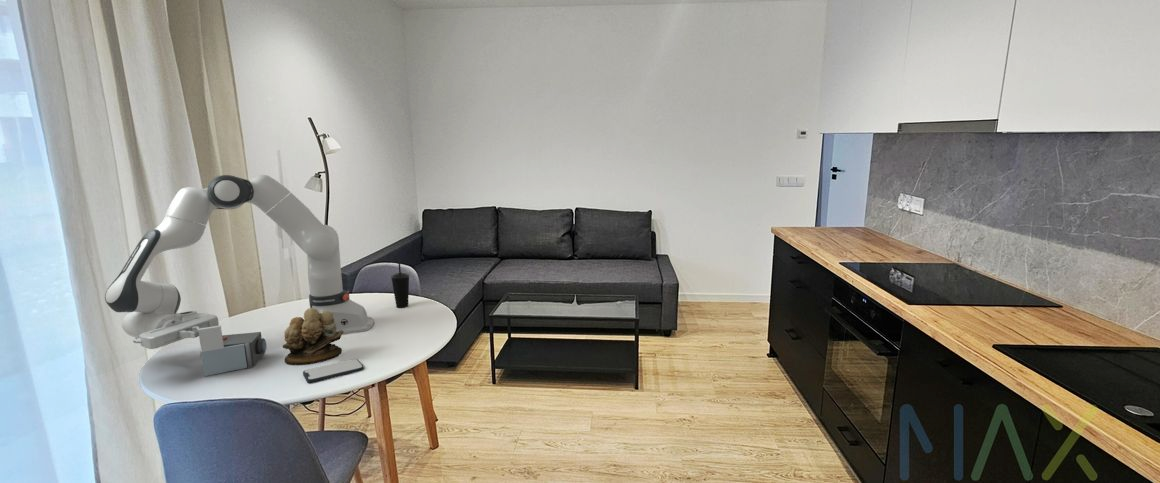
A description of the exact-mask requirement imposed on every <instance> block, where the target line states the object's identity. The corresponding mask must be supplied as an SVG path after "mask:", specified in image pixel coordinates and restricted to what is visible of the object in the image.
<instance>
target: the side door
mask: <svg viewBox="0 0 1160 483" xmlns="http://www.w3.org/2000/svg"><path fill="white" fill-rule="evenodd" d="M198 333H199V336H198V338H199V345H200V350H201V351H200V352H199V353H200V358H201V359H200V360H201V364H202V372H203V376H204V377H205V376H212V375H216V374H222V373H226V372H231V371H237V370H243V369H247V368H248V369H253V368H254V366H252V359H251V352H250V344H249V343H245V347H244V344H240V345H234V346H228V347H224V344H223V337H222V335H223V331H222V325H221V324H219V326H213V327H207V328H200V329H198ZM245 349H246V354H245ZM246 356H247V361H246ZM247 364H248V367H247Z"/></svg>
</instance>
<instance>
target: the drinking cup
mask: <svg viewBox="0 0 1160 483" xmlns="http://www.w3.org/2000/svg"><path fill="white" fill-rule="evenodd" d="M397 265H398V272H396V273H393V274H392V275H390V278H391V283H392V289H393V295H394V301H395V305H396V308H398V309H403V308H404V309H405V308H407V307H409V292H410V291H409V290H410V277H411V276H410V274H409V273H407V272H404V271H403V272H402V271H401V261H400V260H398V264H397Z"/></svg>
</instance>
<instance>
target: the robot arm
mask: <svg viewBox="0 0 1160 483" xmlns="http://www.w3.org/2000/svg"><path fill="white" fill-rule="evenodd" d="M247 203H249V204H252V205H254V206H256V207H257V208H258V209H259V210H260V211H262V212H263V213H264V214H265V215H266V216H268V218H269V219H271V220H272V221H273V222H275V224H276V225H278V227H279V228H281V229H282V230H283V231H284V232H285V233H286V234H287V236H289V237H290V239H291V240H292V241H293V242H294V243H295V245H297V246H298V247H299V248H300V249H301V251H303V252H304V253H305V254H306V255H307V256H306V258H307V259H306V260H307V275H308V287H309V296H308V302H309V303H308V304H309V308H314V309H316V310H318V312H319V314H320V313H322V312H324V311H329V312H332V314H333V318H334V321H335V324H336V331H337V332H338V331H340V330H342V331H343V334H342V335H345V334H352V333H357V332H360V333H361V332H364V331H365V332H366V331H368V330H369V329H371V328H372V327H373V326H374V325H375V321H374V318H373V317H371V316H368V313H367V310H366V308H365V307H364V306H363V305H361V304H359V303H357V302H356V301H354V300H352V299H350V290H345V289H343V278H342V266H341V253H340V252H341V251H340V240H339V234H338V232H337V231H336V229H335V228H334V227H332V226H330V225H328V224H323V223H322V222H321V221H320V220H319V219H318V218H317V217H316V215H315V214H314V213H313V212H312V211H311V210H310V209H309V208H308V206H306V205H305V204H304V203H303V202H302V201H301V200H300V199H299V198H298V197H296V195H294V194H293V192H291V191H290V190H289V189H288V188H287V187H285V185H283V184H281V183H280V182H279V181H277V180H276V179H275V178H272V177H271V176H269V175H267V174H260V175H257V176H254V177H253V178H251V179H250V180H248V179H245V178H241V177H238V176H235V175H230V174H223V175H219V176H215V177H214V178H213V179H211V181H210V182H209V183H208V186H207V187H206V188H199V187H195V186H187V187H182V188H180V189H179V190H178V191H177V193H176V194H175V196H174V197H173V198H172V200H171V202H170V204H169V206H168V208H167V210H166V213H165V216H164V218H163V220H162V221H161V222H160V224H158V226H156V227H155V228H154V229H151V230H149V231H146V232H145V234H144V235H143V236H142V237H141V239H140V240H139V241H138V243H137V245H136V246H135V248H134V249H133V251H132V253H131V255H130V256H129V258H128V260H127V261H126V262H125V264H124V266H123V267H122V269H121V270H120V273H119V274H118V275H117V277H116V278H115V279H114V280H113V281H112V283H110V285H108V288H107V290H106V291H105V294H104V300H105V303H106V305H107V306H108V307H109V308H110V309H111V310H113V311H114V312H115V313H127V314H126V315H125V316H123V319H122V321H121V327H122V330H123V331H124V332H125V333H126V334H127V335H128V336H130V337H133V338H135V339H132V342H133V343H134V344H140V346H141V347H143V348H146V349H148V350H154V349H159V348H161V347H164V346H167V345H170V344H174V343H176V342H178V341H182V340H185V339H189V338H190V339H195V338H199V333H198V329H200V328H207V327H213V326H220V323H219V318H218V316H217V315H214V314H210V313H205V312H199V313H198V311H196V310H189V311H183V312H179V313H178V311H179V309H180V305H181V301H182V298H181V294H180V291H179V290H178V288H177V287H176V286H175V285H173V284H169V283H163V282H151V281H145V280H143V281H142V279H143V276H144V275H145V273H147V272H146V271H147V269H148V268H149V267H150V265H151V263H152V262H153V260H154V258H156V256H158V255H159V254H160V253H162V252H166V251H170V250H175V249H176V250H177V249H182V248H183V249H184V248H187V247H190V246H192V245H195V244H196V243H197V242H199V241H200V240H201V238H202V236H203V235H204V233H205V230H206V227H207V224H208V221H209V219H210V216H211V214H212V213H213V212H214V211H215V210H236V209H239V208H241V207H242V206H243V205H244V204H247Z"/></svg>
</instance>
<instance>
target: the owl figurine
mask: <svg viewBox="0 0 1160 483" xmlns="http://www.w3.org/2000/svg"><path fill="white" fill-rule="evenodd" d="M342 335H344V334H343V331H342V330H340V331H338V332H337V331H336V324H335V321H334V318H333V314H332V312H329V311H324V312H322V313H320V314H319V312H318V310H316V309H314V308H310V307H309V308H306V310H305V311H304V313H303V317H301V316H296V317H293V318H291V319H290V322H289V326H288V327H286V330H284V341H285V343H284V344H282V348H283V349H285V350H289V353H287V355H286V356H285V357H284V364H286V365H288V366H306V365H312V364H319V363H323V362H327V361H330V360H334V359H335V358H337V357H339V356H340V355H341V354H342V352H343V349H342V348H341V346H339V345H336V344H335V342H337V341H339V340H340V339H341V338H342Z"/></svg>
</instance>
